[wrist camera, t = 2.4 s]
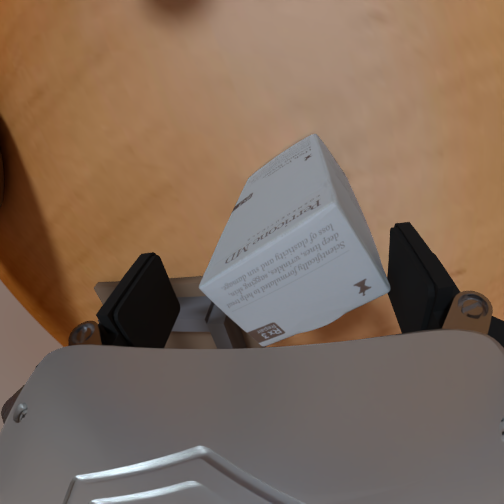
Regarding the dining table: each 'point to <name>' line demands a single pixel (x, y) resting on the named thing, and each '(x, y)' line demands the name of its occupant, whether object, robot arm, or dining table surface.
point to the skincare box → (294, 248)
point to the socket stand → (196, 319)
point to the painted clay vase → (1, 180)
